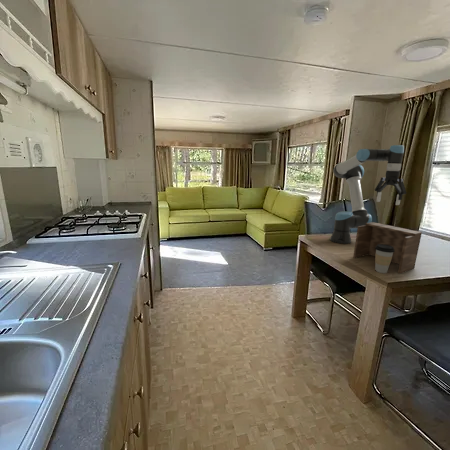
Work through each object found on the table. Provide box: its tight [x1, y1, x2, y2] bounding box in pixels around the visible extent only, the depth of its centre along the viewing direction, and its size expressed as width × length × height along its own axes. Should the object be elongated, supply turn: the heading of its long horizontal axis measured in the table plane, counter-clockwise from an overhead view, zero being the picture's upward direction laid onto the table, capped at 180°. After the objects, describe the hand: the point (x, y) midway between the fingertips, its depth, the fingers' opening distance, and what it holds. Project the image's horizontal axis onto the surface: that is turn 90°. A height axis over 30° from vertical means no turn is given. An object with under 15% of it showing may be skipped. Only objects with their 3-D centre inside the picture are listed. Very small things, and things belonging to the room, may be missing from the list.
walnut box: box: [352, 221, 423, 274], centre depth 155 cm, size 28×16×22 cm, turn 30°
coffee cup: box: [374, 244, 395, 274], centre depth 143 cm, size 9×9×15 cm
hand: (387, 203), depth 167 cm, fingers open, 13 cm apart
